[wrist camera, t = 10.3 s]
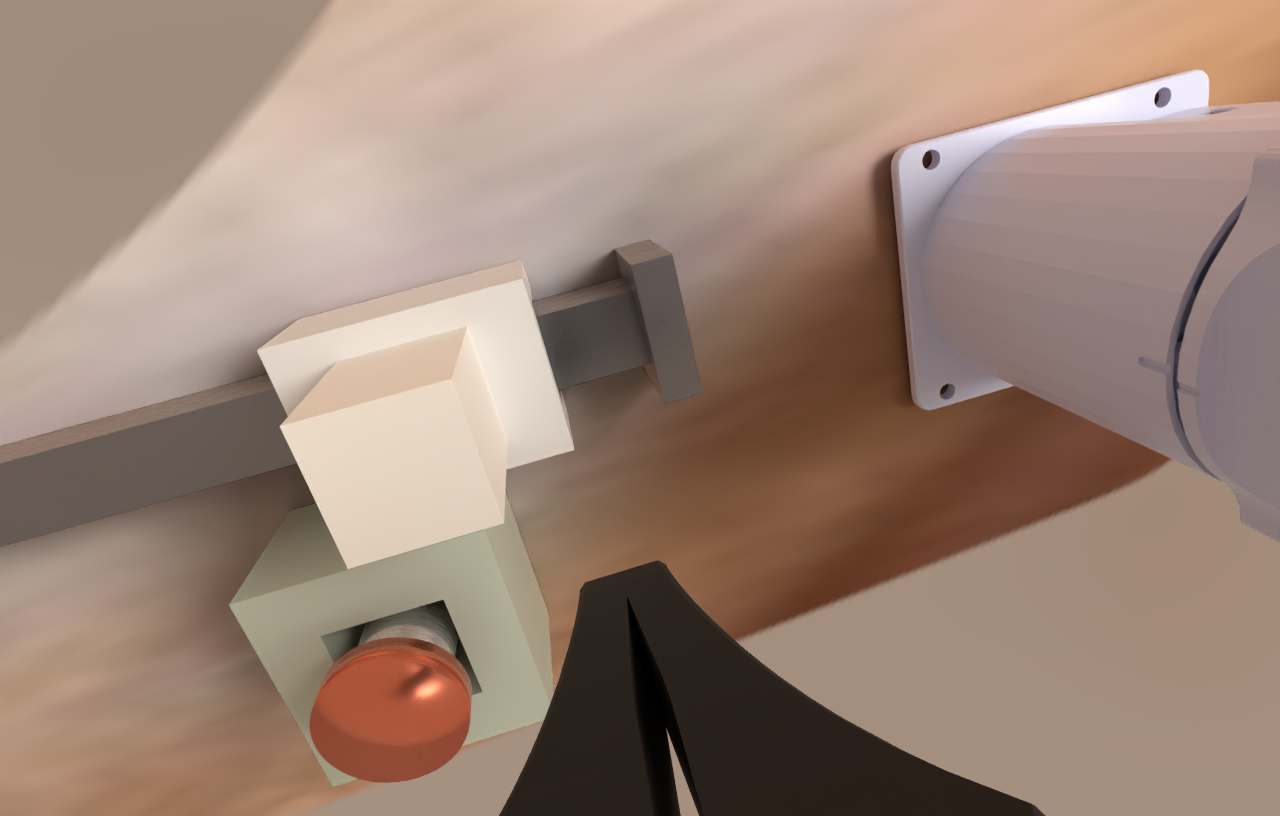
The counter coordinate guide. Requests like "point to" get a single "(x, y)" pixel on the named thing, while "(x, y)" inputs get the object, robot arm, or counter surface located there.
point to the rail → (252, 414)
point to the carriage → (418, 409)
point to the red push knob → (395, 699)
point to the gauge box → (348, 598)
